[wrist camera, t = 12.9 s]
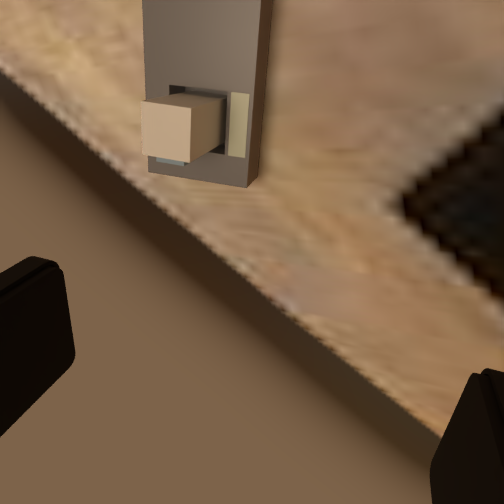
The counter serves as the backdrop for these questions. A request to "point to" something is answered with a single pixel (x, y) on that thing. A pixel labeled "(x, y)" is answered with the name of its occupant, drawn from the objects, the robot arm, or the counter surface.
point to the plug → (183, 126)
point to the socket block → (212, 75)
